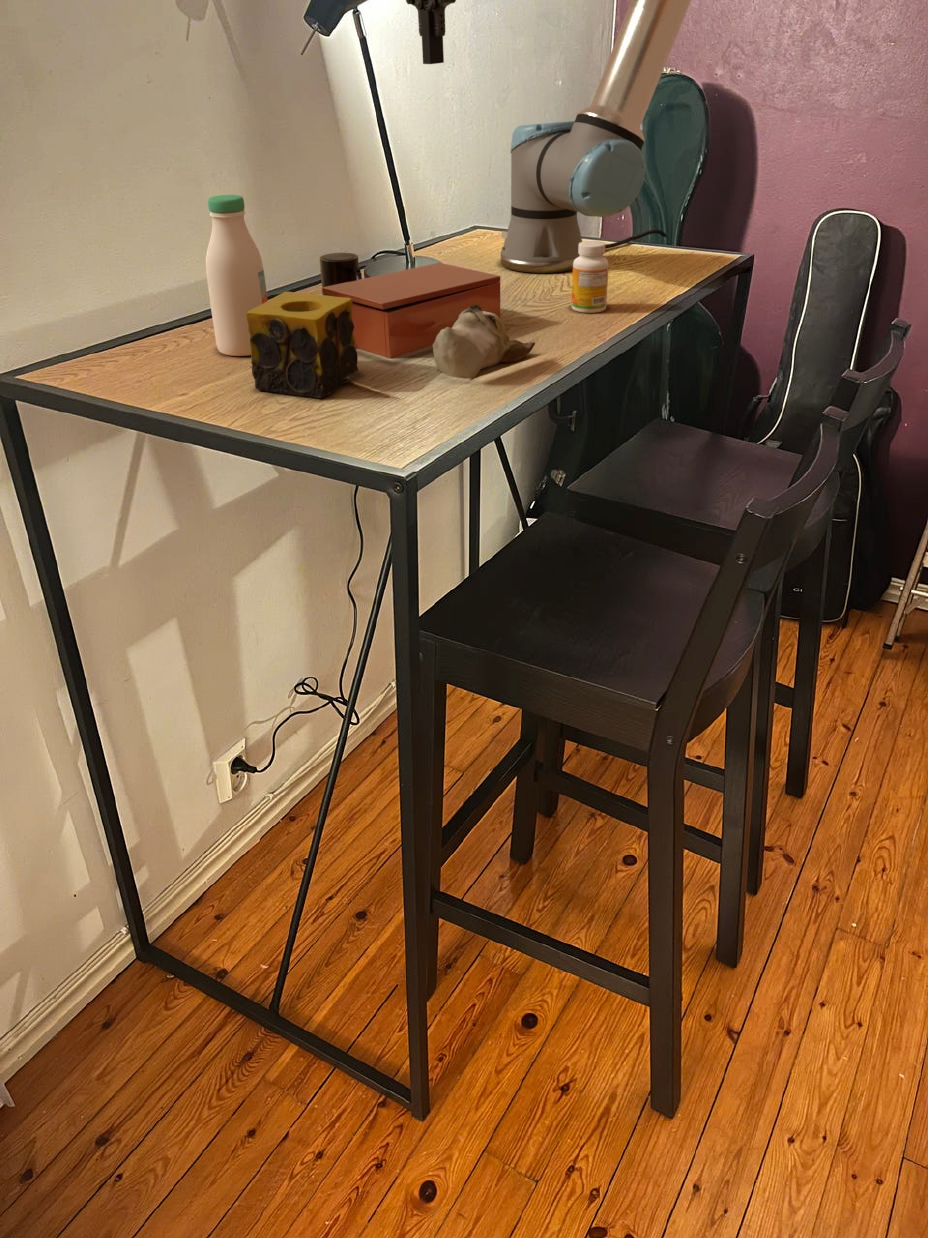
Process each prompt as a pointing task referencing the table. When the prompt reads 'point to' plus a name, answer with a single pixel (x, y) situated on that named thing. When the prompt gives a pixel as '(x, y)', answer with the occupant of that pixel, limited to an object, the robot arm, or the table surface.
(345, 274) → the silver-capped dark cylinder
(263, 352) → the candle
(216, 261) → the milk bottle
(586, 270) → the supplement bottle
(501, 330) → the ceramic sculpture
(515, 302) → the table surface
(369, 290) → the lid
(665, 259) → the table surface
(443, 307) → the reddish-brown box
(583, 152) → the robot arm
